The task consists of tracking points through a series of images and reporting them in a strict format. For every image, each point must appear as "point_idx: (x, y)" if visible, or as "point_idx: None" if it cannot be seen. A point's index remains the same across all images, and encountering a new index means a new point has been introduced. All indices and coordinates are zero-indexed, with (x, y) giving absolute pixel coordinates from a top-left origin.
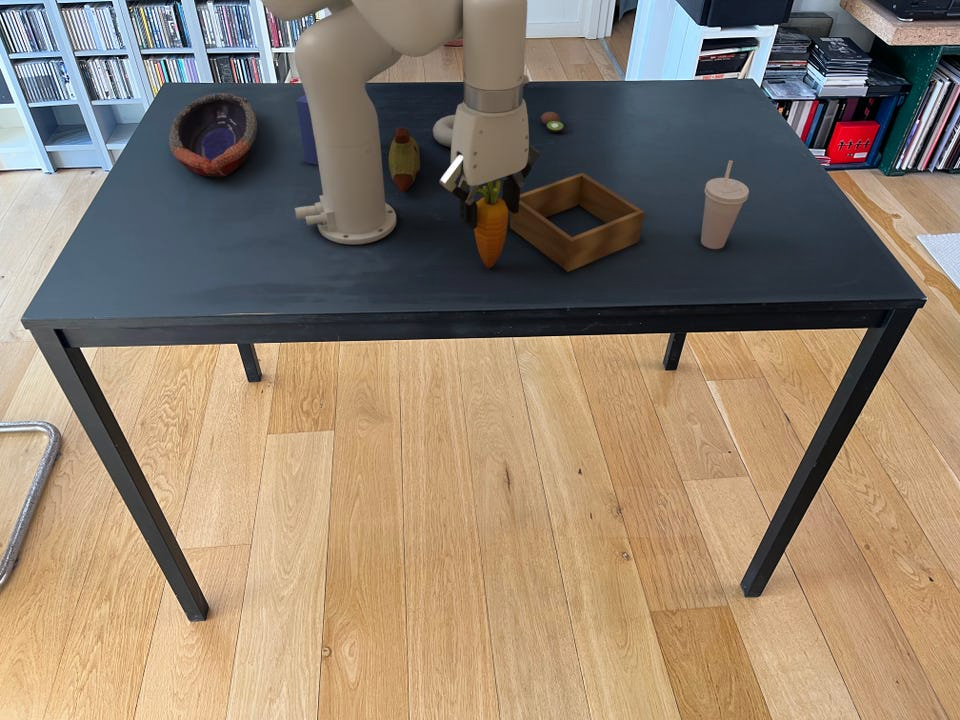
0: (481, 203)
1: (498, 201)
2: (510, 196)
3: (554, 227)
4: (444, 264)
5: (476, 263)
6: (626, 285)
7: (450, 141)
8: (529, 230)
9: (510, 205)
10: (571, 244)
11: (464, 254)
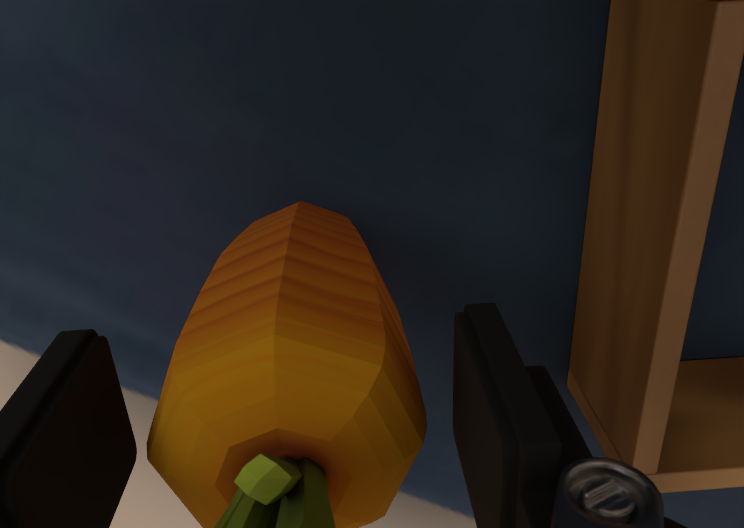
0: (194, 465)
1: (339, 503)
2: (478, 476)
3: (657, 383)
4: (120, 85)
5: (273, 159)
6: (667, 511)
7: None
8: (622, 156)
9: (462, 424)
10: None
11: (254, 60)
